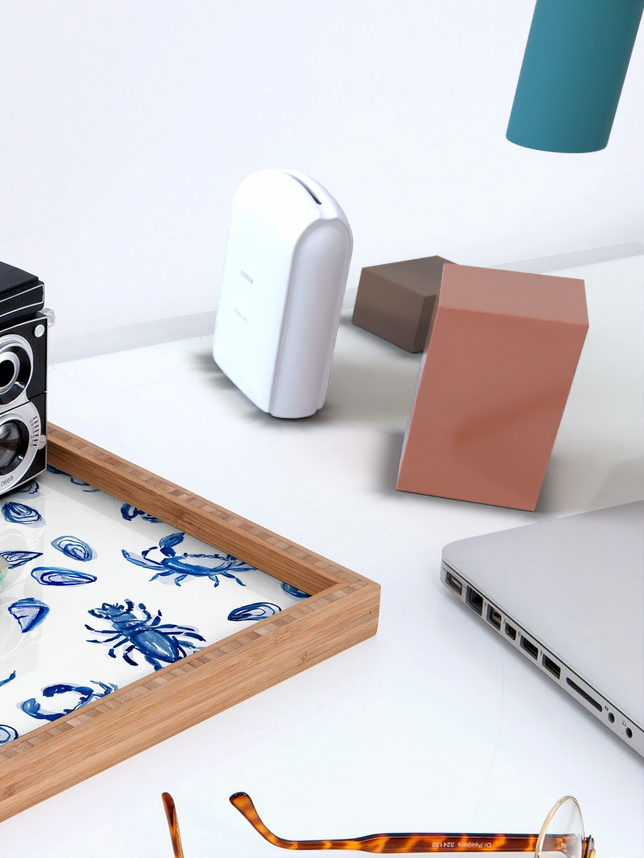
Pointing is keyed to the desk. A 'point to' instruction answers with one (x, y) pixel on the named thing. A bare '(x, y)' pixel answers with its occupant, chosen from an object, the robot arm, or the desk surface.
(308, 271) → the photo printer
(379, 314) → the block
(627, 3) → the bottle
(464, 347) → the plinth
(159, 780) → the desk surface
